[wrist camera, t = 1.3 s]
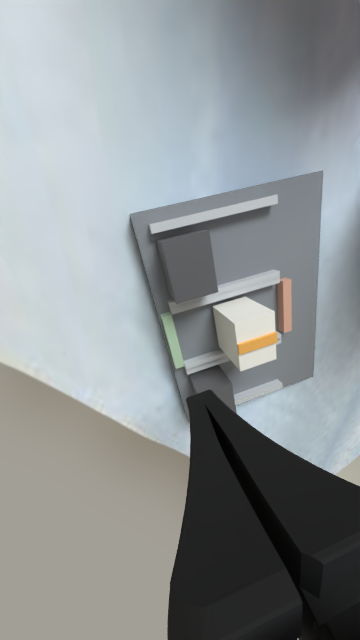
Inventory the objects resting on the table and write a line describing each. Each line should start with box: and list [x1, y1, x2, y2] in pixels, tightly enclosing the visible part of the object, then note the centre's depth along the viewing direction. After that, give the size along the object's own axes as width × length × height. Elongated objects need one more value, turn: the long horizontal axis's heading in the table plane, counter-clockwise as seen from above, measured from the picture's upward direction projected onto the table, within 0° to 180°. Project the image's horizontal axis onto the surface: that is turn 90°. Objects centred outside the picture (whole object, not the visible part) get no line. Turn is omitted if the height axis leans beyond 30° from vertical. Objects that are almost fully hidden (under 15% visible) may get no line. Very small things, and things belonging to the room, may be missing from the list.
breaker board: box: [130, 171, 323, 422], centre depth 19 cm, size 15×20×4 cm
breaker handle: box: [212, 297, 278, 372], centre depth 17 cm, size 3×4×4 cm
